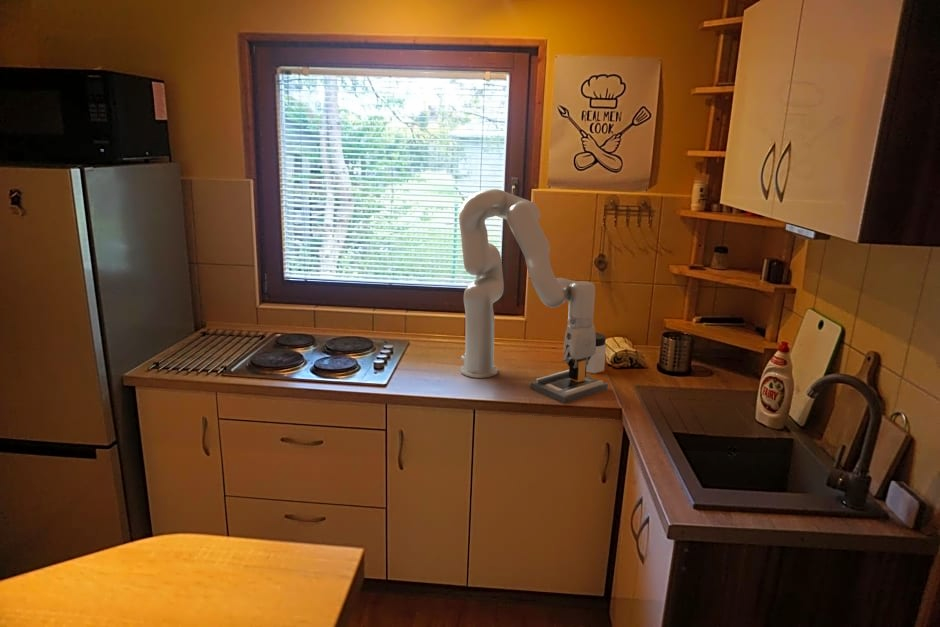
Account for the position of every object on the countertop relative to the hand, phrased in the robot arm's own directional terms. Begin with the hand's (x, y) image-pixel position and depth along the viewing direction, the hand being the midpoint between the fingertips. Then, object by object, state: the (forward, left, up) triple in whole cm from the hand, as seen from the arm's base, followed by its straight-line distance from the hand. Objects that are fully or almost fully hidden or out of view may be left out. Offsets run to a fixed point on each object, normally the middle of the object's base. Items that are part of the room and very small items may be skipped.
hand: (577, 376), depth 199 cm
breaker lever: (0, 0, -1) cm, 1 cm away
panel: (0, -4, -3) cm, 5 cm away
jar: (-8, +16, -3) cm, 18 cm away
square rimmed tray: (0, -4, -1) cm, 4 cm away
